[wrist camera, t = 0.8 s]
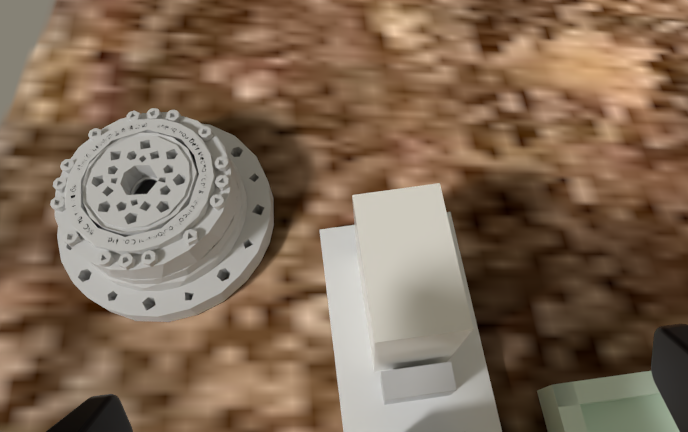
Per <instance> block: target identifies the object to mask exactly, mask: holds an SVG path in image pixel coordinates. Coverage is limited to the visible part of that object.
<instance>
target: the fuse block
mask: <svg viewBox="0 0 688 432" xmlns="http://www.w3.org/2000/svg"><path fill="white" fill-rule="evenodd" d="M447 216H448V221H449V225H450V229H451V234H452V238H453V242H454V247H455V251H456V255H457V260H458V264H459V268H460V273H461V277H462V281H463V286H464V290H465V294H466V298H467V303H468V307H469V311H470V316H471V320H472V324H473V330H472V332H471V333H470V334H469V335H468V337H467V338H466V339H465V340H464V342H463V343H462V344H461V345H460V347H459V348H458V349H457V350H456V352H455V353H454V354H453V355H452V357H451V358H450V359H449V360H448V361H447V362H440V363H433V364H426V365H418V366H411V367H404V368H397V369H390V370H383V371H376V372H374V369H373V362H372V355H371V348H370V342H369V335H368V328H367V321H366V315H365V308H364V301H363V294H362V287H361V281H360V274H359V267H358V260H357V252H356V238H355V225H350V226H342V227H335V228H328V229H321V230H320V238H321V247H322V255H323V263H324V272H325V280H326V288H327V297H328V305H329V314H330V322H331V330H332V339H333V347H334V355H335V364H336V372H337V381H338V389H339V397H340V406H341V414H342V422H343V431H344V432H502V429H501V425H500V420H499V416H498V412H497V408H496V403H495V399H494V395H493V391H492V386H491V382H490V378H489V374H488V369H487V365H486V361H485V357H484V352H483V348H482V344H481V340H480V335H479V331H478V327H477V323H476V318H475V314H474V310H473V306H472V301H471V297H470V293H469V289H468V284H467V280H466V276H465V272H464V267H463V263H462V259H461V255H460V250H459V246H458V242H457V238H456V233H455V229H454V225H453V221H452V216H451V212H447Z"/></svg>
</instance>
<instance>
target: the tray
mask: <svg viewBox="0 0 688 432" xmlns="http://www.w3.org/2000/svg"><path fill="white" fill-rule="evenodd" d="M537 394H538V397H539V401H540V405H541V409H542V412H543V416H544V420H545V424H546V427H547V431H548V432H680V431H679V429H678V427H677V425H676V423H675V421H674V420H673V418H672V416H671V414H670V412H669V410H668V408H667V406H666V404H665V402H664V400H663V398H662V396H661V394H660V392H659V390H658V388H657V386H656V384H655V382H654V380H653V377H652V372H651V371H645V372H638V373H631V374H624V375H617V376H610V377H603V378H596V379H589V380H582V381H574V382H567V383H560V384H553V385H550V386H547V387H545V388H542V389H540V390H537Z"/></svg>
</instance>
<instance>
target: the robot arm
mask: <svg viewBox="0 0 688 432" xmlns="http://www.w3.org/2000/svg"><path fill="white" fill-rule="evenodd" d="M651 372H652V377H653V380H654V382H655V384H656V386H657V388H658V390H659V392H660V394H661V396H662V398H663V400H664V402H665V404H666V406H667V408H668V410H669V412H670V414H671V416H672V418H673V420H674V421H675V423H676V425H677V427H678V429H679V431H680V432H688V325H686V324H675V325H667V326H660V327H658V328H657V329H656V331H655V333H654V340H653V351H652V361H651ZM46 432H133V430H132V427H131V424H130V422H129V420H128V417H127V415H126V413H125V411H124V408H123V406H122V404H121V401H120V400H119V398H118V397H117V396H116V395H113V394H108V395H100V396H94V397H91V398H89V399H87V400H86V401H85V402H83V403H82V404H81V405H80V406H78V407H77V408H76V409H74V410H73V411H72V412H71V413H69V414H68V415H67V416H65V417H64V418H63V419H62V420H60V421H59V422H58V423H57V424H55V425H54V426H53V427H51V428H50V429H49V430H48V431H46Z"/></svg>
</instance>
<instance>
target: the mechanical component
mask: <svg viewBox="0 0 688 432" xmlns="http://www.w3.org/2000/svg"><path fill="white" fill-rule="evenodd" d="M88 136H89V138H90V139H89V140H88V141H86V142H85V143H84V144H82V145H81V146H80V147H79V148H78V149H77V151H76V152H75V154H74V155H73V156H72V158H71V159H66V160H64V161H63V162H62V163H61V165H60V167H61V169H62V170H63V171H62V174H61V177H60V178H57V179H56V180H55V181H54V182H53V187H54V188H55V189H56V194H55V198H54V199H53V200H51V204H50V205H51V207H52V208H53V209H54V210H55V219H56V221H57V224H58V234H57V238H58V244H59V250H60V256H61V262H62V263H63V265H64V267H65V269H66V271H67V273H68V275H69V276H70V278H71V280H72V282H73V283H74V284H75V285H76V286H77V287H78V288H79V289H80V290H81V291H82V292H83V293H84V294H85V295H86V296H87V297H88V298H89V299H91V300H92V301H94V302H96V303H97V304H99V305H101V306H102V307H104V308H105V309H107V310H109V311H110V312H113V313H116V314H118V315H121V316H124V317H127V318H130V319H132V320H135V321H155V322H171V321H175V320H179V319H183V318H187V317H190V316H194V315H198V314H200V313H202V312H204V311H206V310H208V309H210V308H212V307H214V306H216V305H218V304H220V303H222V302H224V301H225V300H226V299H227V298H228V297H229V296H230V295H232V294H233V293H234V292H235V291H236V290H237V289H238V288H239V287H241V286H242V285H243V284H244V283H245V282H246V281H247V280H248V279H249V277H250V276H251V275H252V273H253V272H254V270H255V269H256V268H257V266H258V265H259V264H260V262H261V260H262V258H263V256H264V254H265V252H266V250H267V248H268V246H269V243H270V240H271V235H272V231H273V227H274V198H273V195H272V192H271V189H270V185H269V182H268V180H267V178H266V176H265V173H264V171H263V169H262V167H261V165H260V163H259V161H258V159H257V157H256V156H255V155H254V154H253V153H252V152H251V151H250V150H249V149H248V148H247V147H246V146H245V145H244V144H243V143H242V142H241V141H240V140H239V139H238V138H237V137H236V136H234V135H232V134H230V133H227V132H225V131H223V130H221V129H218V128H216V127H214V126H212V125H209V124H201V123H200V122H198V121H196V120H193V119H190V118H186V117H183V116H181V115H180V114H179V112H178V111H176V110H170V111H169V112H160V111H159V109H155V108H152V109H150V110H149V111H148V112H147V113H142V114H140V113H138V112H136V111H132V112H129V113H128V115H127V118H123V119H120V120H118V121H116V122H114V123H112V124H110V125H108V126H106V127H104V128H103V129H102V130H100V129H97V128H95V129H93V130H90V132H89V134H88ZM261 214H262V215H261ZM227 277H229V279H226V278H227ZM225 279H226V280H225ZM154 305H155V306H154Z"/></svg>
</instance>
